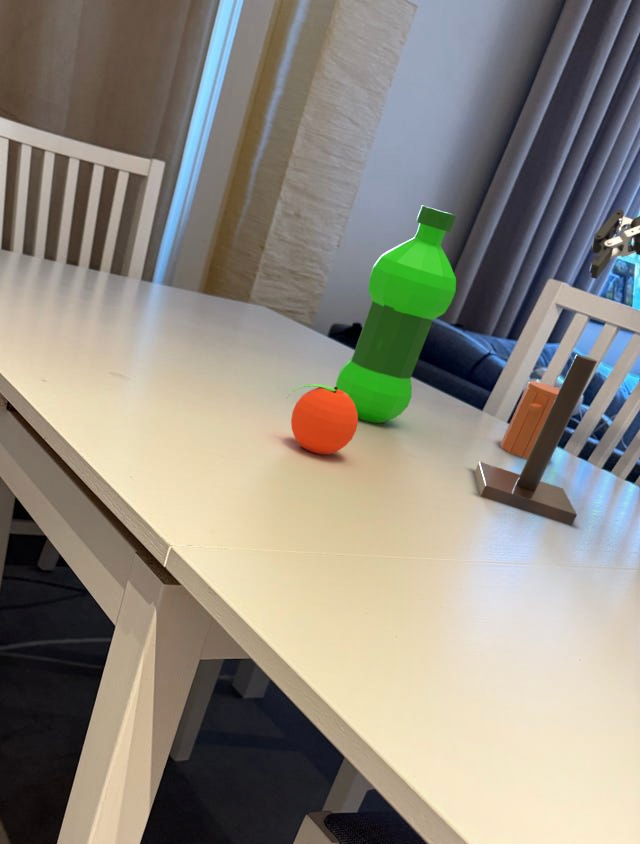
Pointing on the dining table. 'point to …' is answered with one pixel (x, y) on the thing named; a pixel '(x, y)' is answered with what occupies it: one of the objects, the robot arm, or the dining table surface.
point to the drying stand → (540, 457)
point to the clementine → (324, 419)
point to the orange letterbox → (529, 418)
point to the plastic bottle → (399, 319)
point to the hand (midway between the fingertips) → (625, 283)
